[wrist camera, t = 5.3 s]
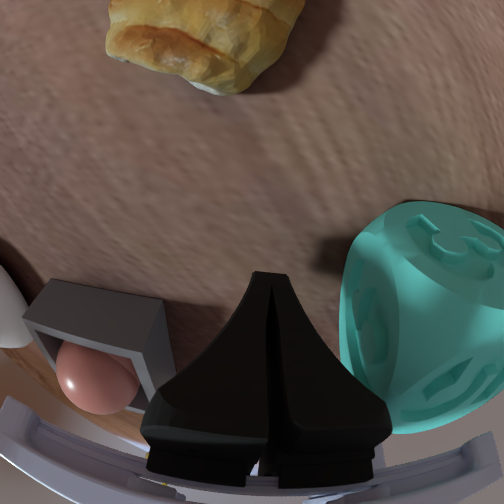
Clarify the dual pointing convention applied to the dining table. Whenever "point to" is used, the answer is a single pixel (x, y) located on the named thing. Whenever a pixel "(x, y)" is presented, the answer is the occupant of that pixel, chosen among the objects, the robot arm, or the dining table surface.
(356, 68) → the dining table surface
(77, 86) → the dining table surface
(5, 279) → the flower in vase
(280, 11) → the pastry
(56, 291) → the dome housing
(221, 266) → the dining table surface
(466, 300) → the decorative dice
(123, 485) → the robot arm
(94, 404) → the pop dome
